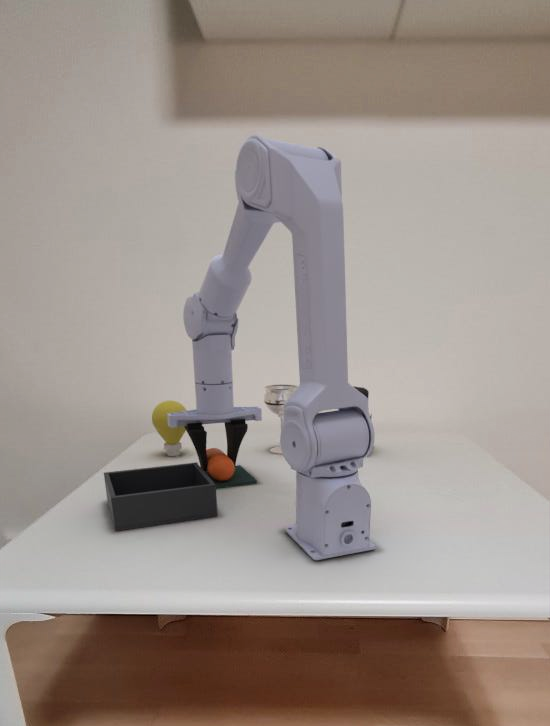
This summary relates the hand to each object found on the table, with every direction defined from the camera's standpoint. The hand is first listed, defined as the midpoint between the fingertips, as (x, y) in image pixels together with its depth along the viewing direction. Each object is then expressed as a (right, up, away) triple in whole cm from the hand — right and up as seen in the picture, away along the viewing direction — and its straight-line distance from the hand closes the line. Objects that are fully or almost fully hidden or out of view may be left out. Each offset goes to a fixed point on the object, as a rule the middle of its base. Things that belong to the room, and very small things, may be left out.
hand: (218, 467), depth 87 cm
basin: (-6, -7, -12) cm, 15 cm away
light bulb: (-10, +3, +14) cm, 18 cm away
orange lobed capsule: (0, -1, +1) cm, 1 cm away
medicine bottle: (+23, +4, +17) cm, 29 cm away
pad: (0, -2, +1) cm, 2 cm away
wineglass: (+10, +4, +17) cm, 20 cm away
